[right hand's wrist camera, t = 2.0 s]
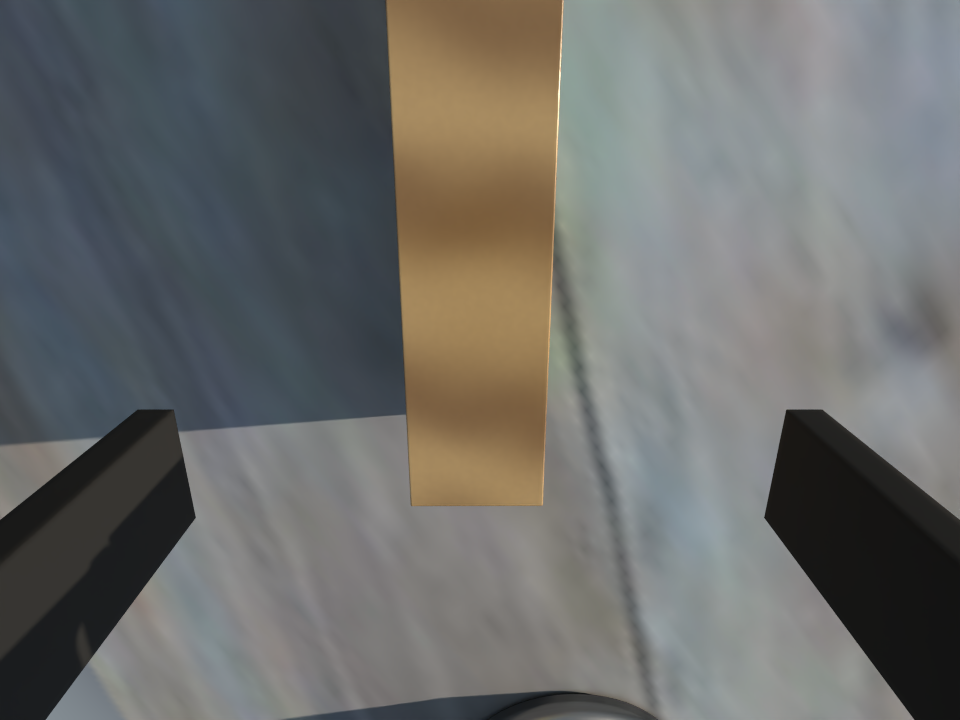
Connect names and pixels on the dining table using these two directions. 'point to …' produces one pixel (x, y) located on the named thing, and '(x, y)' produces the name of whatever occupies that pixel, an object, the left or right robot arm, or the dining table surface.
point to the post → (475, 240)
